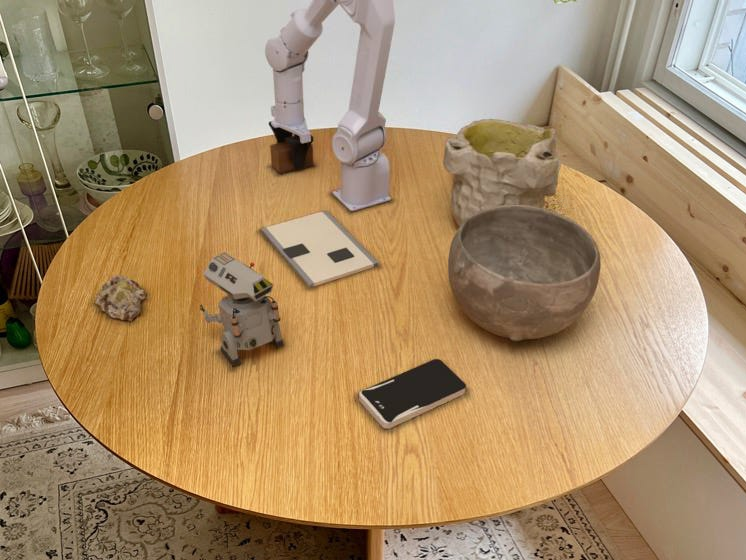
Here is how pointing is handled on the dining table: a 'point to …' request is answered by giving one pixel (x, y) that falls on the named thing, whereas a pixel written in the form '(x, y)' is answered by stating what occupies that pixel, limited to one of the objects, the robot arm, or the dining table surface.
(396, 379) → the smartphone
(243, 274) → the figurine
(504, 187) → the ceramic vessel
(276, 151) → the brown rectangular block
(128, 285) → the mineral rock
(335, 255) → the charcoal rectangular plate
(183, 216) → the dining table surface
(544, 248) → the bowl
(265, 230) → the whiteboard
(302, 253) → the dark grey tile
